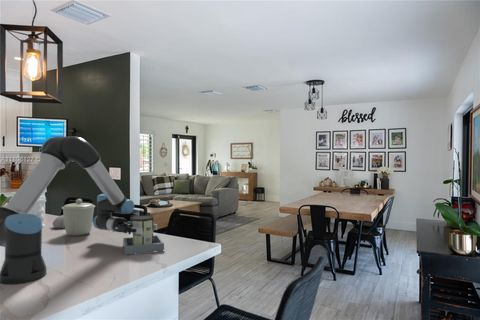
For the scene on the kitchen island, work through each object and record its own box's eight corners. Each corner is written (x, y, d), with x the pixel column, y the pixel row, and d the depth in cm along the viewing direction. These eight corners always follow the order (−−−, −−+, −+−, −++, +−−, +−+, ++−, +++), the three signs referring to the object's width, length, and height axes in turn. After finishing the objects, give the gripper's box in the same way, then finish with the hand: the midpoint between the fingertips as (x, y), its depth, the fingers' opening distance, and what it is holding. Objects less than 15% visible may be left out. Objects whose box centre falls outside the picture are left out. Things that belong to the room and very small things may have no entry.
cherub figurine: (40, 224, 219) (41, 192, 220) (53, 226, 215) (54, 193, 215) (22, 228, 208) (23, 193, 208) (36, 229, 203) (37, 194, 204)
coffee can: (139, 241, 171) (140, 214, 171) (157, 243, 168) (157, 216, 168) (127, 246, 161) (128, 218, 161) (146, 248, 158) (146, 219, 158)
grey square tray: (164, 251, 160) (164, 243, 160) (125, 255, 153) (125, 246, 153) (158, 242, 176) (158, 235, 176) (123, 245, 169) (123, 237, 169)
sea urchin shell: (74, 228, 209) (74, 216, 209) (50, 229, 204) (50, 217, 204) (76, 224, 222) (76, 212, 222) (54, 225, 217) (54, 213, 217)
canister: (101, 232, 198) (102, 198, 198) (75, 238, 182) (76, 201, 182) (81, 229, 206) (81, 196, 206) (54, 235, 190) (54, 199, 190)
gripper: (133, 227, 183) (164, 232, 173) (99, 236, 162) (132, 241, 152) (133, 214, 183) (164, 218, 173) (100, 221, 162) (133, 225, 152)
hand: (149, 229), depth 162 cm, fingers closed on coffee can, 10 cm apart
